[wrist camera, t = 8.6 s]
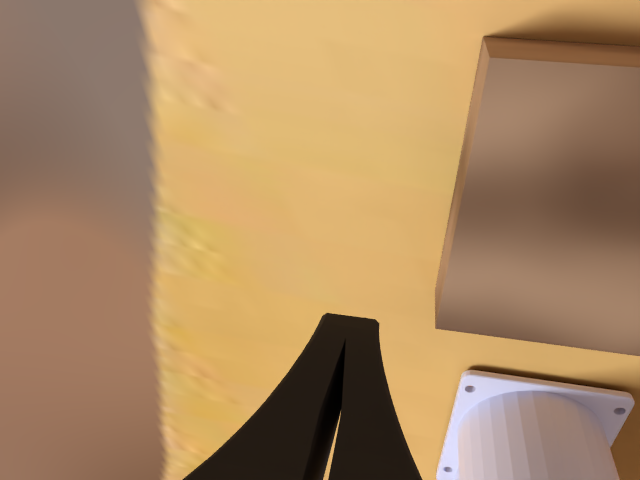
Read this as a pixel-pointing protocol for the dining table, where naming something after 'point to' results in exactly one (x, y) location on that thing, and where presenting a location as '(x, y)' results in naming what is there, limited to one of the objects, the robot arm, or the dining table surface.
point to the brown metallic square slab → (548, 199)
